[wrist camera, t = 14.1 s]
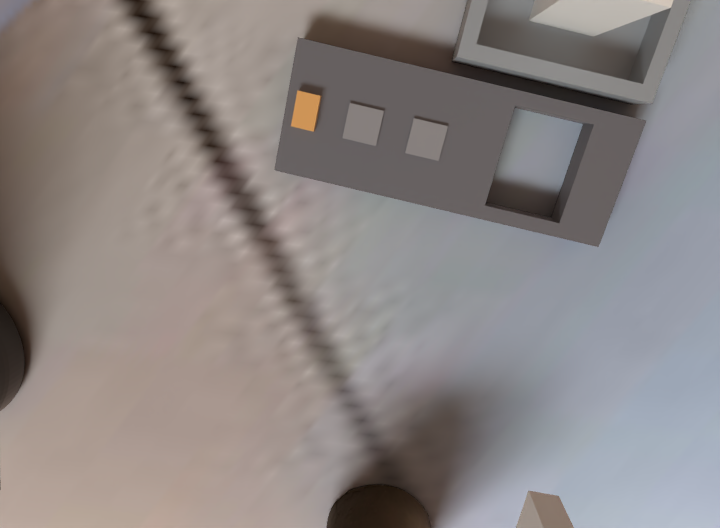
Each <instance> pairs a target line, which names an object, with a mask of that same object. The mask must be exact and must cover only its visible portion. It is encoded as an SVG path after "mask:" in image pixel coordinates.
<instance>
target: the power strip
mask: <svg viewBox="0 0 720 528" xmlns="http://www.w3.org/2000/svg"><path fill="white" fill-rule="evenodd" d="M514 108H519V109H523V110H527V111H531V112H536V113H540V114H544V115H548V116H552V117H557V118H561V119H565V120H569V121H573V122H577V123H582V124H583V127H582V130H581V133H580V135H579V138H578V141H577V144H576V147H575V150H574V153H573V156H572V159H571V162H570V164H569V167H568V170H567V173H566V176H565V179H564V182H563V185H562V188H561V191H560V194H559V196H558V199H557V202H556V205H555V208H554V211H553V214H552V217H551V218H550V217H546V216H541V215H537V214H533V213H529V212H525V211H520V210H516V209H512V208H508V207H503V206H499V205H495V204H491V203H487V202H486V200H487V197H488V194H489V190H490V187H491V184H492V180H493V177H494V174H495V171H496V167H497V164H498V161H499V157H500V154H501V151H502V148H503V144H504V141H505V138H506V134H507V131H508V128H509V124H510V121H511V118H512V115H513V111H514ZM645 123H646V121H645V120H641V119H637V118H633V117H628V116H624V115H620V114H616V113H612V112H608V111H603V110H599V109H595V108H591V107H587V106H583V105H578V104H574V103H570V102H566V101H562V100H557V99H553V98H549V97H545V96H541V95H537V94H532V93H528V92H524V91H520V90H516V89H511V88H507V87H503V86H499V85H495V84H491V83H486V82H482V81H478V80H474V79H470V78H466V77H461V76H457V75H453V74H449V73H445V72H440V71H436V70H432V69H428V68H424V67H420V66H415V65H411V64H407V63H403V62H399V61H395V60H390V59H386V58H382V57H378V56H374V55H369V54H365V53H361V52H357V51H353V50H349V49H344V48H340V47H336V46H332V45H328V44H323V43H319V42H315V41H311V40H307V39H303V38H298V40H297V46H296V52H295V57H294V63H293V68H292V74H291V80H290V85H289V91H288V97H287V102H286V108H285V114H284V119H283V125H282V131H281V136H280V142H279V148H278V153H277V159H276V165H275V170H276V171H280V172H285V173H289V174H293V175H297V176H301V177H306V178H310V179H314V180H318V181H323V182H327V183H331V184H335V185H339V186H344V187H348V188H352V189H356V190H361V191H365V192H369V193H373V194H377V195H382V196H386V197H390V198H394V199H399V200H403V201H407V202H411V203H415V204H420V205H424V206H428V207H432V208H437V209H441V210H445V211H449V212H453V213H458V214H462V215H466V216H470V217H474V218H479V219H483V220H487V221H491V222H496V223H500V224H504V225H508V226H512V227H517V228H521V229H525V230H529V231H534V232H538V233H542V234H546V235H550V236H555V237H559V238H563V239H567V240H572V241H576V242H580V243H584V244H588V245H593V246H597V247H599V244H600V242H601V239H602V236H603V234H604V231H605V228H606V226H607V223H608V220H609V218H610V215H611V213H612V210H613V207H614V205H615V202H616V199H617V197H618V194H619V191H620V189H621V186H622V184H623V181H624V178H625V176H626V173H627V170H628V168H629V165H630V162H631V160H632V157H633V155H634V152H635V149H636V147H637V144H638V141H639V139H640V136H641V133H642V131H643V128H644V126H645Z"/></svg>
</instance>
